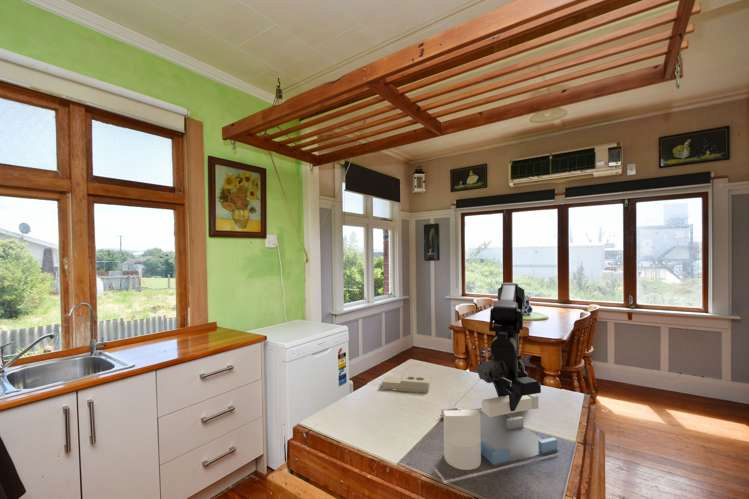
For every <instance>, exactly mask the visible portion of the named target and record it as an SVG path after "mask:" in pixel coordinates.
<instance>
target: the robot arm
mask: <svg viewBox="0 0 749 499" xmlns="http://www.w3.org/2000/svg"><path fill="white" fill-rule="evenodd" d="M525 304H526V292H525V289H523V288H522V287H520V286H519V284H518V283H516V282H503V283H501V285H500V287H498V288H497V301H494V303H493V306H492V307H491V308H490V310H489V311H490V312H489V314H490V315H489V328H488V331H489V332H494V338H493V339H492V342H491V344H490V352H491V355H490V359H489V360H486V361H485V360H484V361H480V362H479V363H478V365H476V368H475V369H476V371H477V375H478V377H479V379H480V380H482V381H484V382H485V383H487V384H491V383H492V384H493V387H494V388H495V391H496V394H497V397H501V396H507V395H509V404H510V410H511V411H515V409H516V407H517V405H518V403H519V401H520V399H521V398H522V396H523V395H524V396H525V395H531V394H536V395H537V394H541V393H542V386H541V383H540V382H539V381H538V380H536V379H534V378H532V377H530V376H529V374H528V373H527V371H525V364H524V362H523V360H522V355H521V354H520V334H521V331H523V330H524V328H523V327H524V314H523V313H522V311H523V309H524V305H525Z"/></svg>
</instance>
